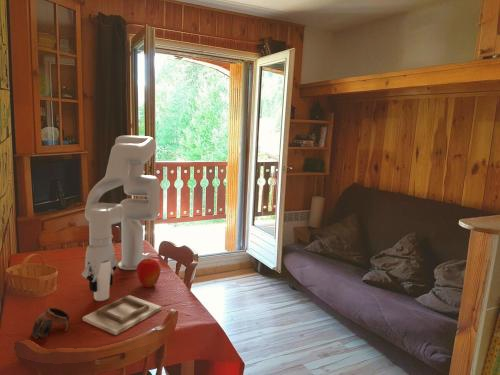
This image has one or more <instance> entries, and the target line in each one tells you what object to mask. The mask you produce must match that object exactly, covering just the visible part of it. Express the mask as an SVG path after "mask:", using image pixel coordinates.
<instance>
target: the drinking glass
mask: <svg viewBox="0 0 500 375" xmlns="http://www.w3.org/2000/svg"><path fill="white" fill-rule="evenodd" d="M93 275H94V274H92V278H93ZM110 276H111V260H109V261H108V262H105V263H100V268H99V273H98V274H97V277H96V280H95V281H97V292H93V299H94V301H97V302H103V301H106V300H108V299H109V298H110V287H111V285H110Z"/></svg>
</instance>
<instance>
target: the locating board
mask: <svg viewBox="0 0 500 375" xmlns="http://www.w3.org/2000/svg"><path fill="white" fill-rule="evenodd" d="M161 310H162V306H161V305H158V304H156V303H154V302H150V301H147V300H144V299H141V298H138V297H136V296H133V295H130V294H128V295H126V296H123V297H121V298H119V299H116V300H114V301H112V302H110V303H108V304H106V305H104V306H102V307H100V308H97V309H96V310H94V311H93V312H90V313H89V314H86V315H84V316H82V321H83V322H86V323H88V324H90V325H92V326H94V327H97V328H99V329H100V330H103V331H106V332H107V333H109V334H112V335H115V336H117V335H119V334H121V333H123V332H124V331H126V330H128V329H130V328H132V327H133V326H135V325H137V324H139V323H140V322H142V321H143V320H146V319H148V318H149V317H151V316H153V315H154V314H156V313H157V312H159V311H161Z"/></svg>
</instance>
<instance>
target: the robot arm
mask: <svg viewBox="0 0 500 375" xmlns="http://www.w3.org/2000/svg"><path fill="white" fill-rule="evenodd" d="M110 149H111V150H110V154H109V158H108V161H107V162H108V163H107V165H106V171H105V176H104V177H103V178H102V179H100V181H98V182H96V184H95V185H94V186H92V187H93V188H91V190H90V191H89V193H88V195H87V199H86V203H85V208H84V217H85V219H86V221H88V225H89V226H88V228H89V231H88V232H89V233H88V234H89V238H88V239H89V241H88V243H89V245H88V246H87V247H86V252H85V261H84V262H85V263H84V269H83V271H82V272H81V274H80V275H81V276H82V277H84V278H85V279H86V280H88V281H89V291H91V292H92V293H94V292H97V281H95V280H96V277H97V274H98V273H99V268H100V263H105V262H108V261H109V260H111V276H110V286H113V285H114V284H113V282H114V280H113V279H114V278H113V277H114V276H113V275H114V274H115V271H116V270H117V267H118V268H119V269H121V270H123V271H137V266H138V264H139V263H140V262H141V261H142V260H144V259H148V258H149V257H151V253H150V252H147V253H144V228H143V225H142V223H141V222H140V221H156V220H157V219H158V217H159V213H160V195H161V194H160V193H161V192H160V191H161V186H160V185H161V184H160V180H159V178H158V177H156V176H155V175H147V174H146V175H145V174H144V173H145V171H144V167H145V164H146V163H148V162H149V160H150V159H151V158H152V157H153V155H154V154H155V152H156V150H157V143H156V141H155V139H154V138H153V137H152V136H143V135H120V136H117V137H116V138H115V142H114V145H112V147H111V148H110ZM121 186H123V192H124V194H126V195H128V196H132V197H133V196H135V197H147V199H145V198H125V199H123V200H121V201H120V203H109V202H99V201H100V199H101V197H102V196H103V195H104V194H105V193H108V191H111V190H113V189H115V188H118V187H121ZM119 223H120V224H121V225H120V228H121V234H120V235H121V260H120V261H118V260H117V259H116V254H115V252H116V251H115V246H114V243H113V242H112V239H114V235H113V234H112V233H113V232H112V231H113V230H112V225H115V224H116V225H117V224H119ZM92 274H94V275H93V278H92Z"/></svg>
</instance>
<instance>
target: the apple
mask: <svg viewBox="0 0 500 375" xmlns="http://www.w3.org/2000/svg"><path fill="white" fill-rule="evenodd" d="M161 271H162V270H161V265H160V263H159V262H158V261H157V260H156V259H153V258H149V257H147V258H146V259H144V260H142V261H141V262H140V263H139V264H138V266H137V270H136V274H137V278H138V280H139V283H140V284H141V285H142V286H143V287H144V288H152V287H153V286H155V285H156V284H157V282H158V280H159V278H160V275H161Z"/></svg>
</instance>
